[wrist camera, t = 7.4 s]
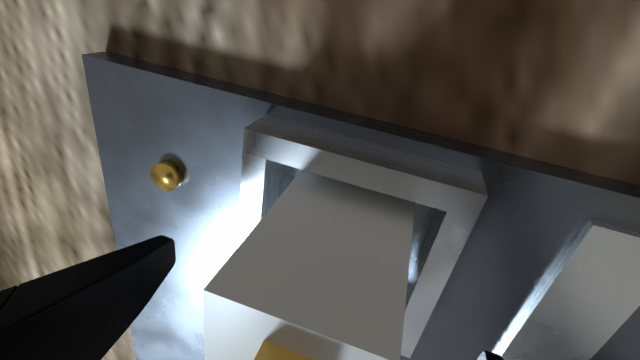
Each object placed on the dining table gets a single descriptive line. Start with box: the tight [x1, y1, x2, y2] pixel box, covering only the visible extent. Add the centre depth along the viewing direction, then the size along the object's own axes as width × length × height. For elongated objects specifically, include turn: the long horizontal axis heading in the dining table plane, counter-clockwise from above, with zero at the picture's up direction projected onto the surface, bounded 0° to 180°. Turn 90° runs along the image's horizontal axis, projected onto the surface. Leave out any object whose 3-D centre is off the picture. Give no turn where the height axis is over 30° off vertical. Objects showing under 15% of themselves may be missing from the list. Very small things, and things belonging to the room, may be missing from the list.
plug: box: [203, 170, 415, 360], centre depth 10 cm, size 4×4×7 cm
